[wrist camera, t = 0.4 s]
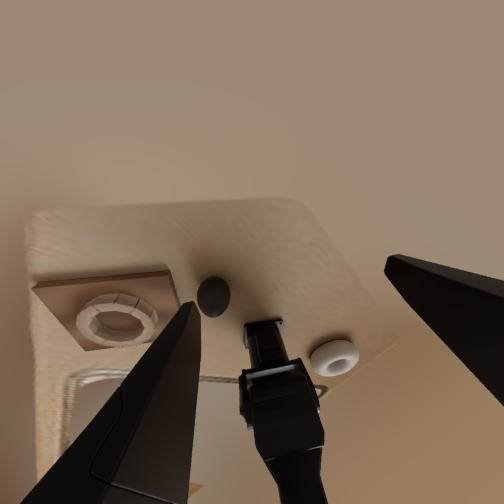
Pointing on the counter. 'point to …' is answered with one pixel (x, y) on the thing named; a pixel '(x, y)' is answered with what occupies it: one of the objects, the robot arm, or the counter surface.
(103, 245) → the counter surface
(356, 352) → the donut
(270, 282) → the counter surface
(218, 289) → the egg
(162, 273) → the egg stand
